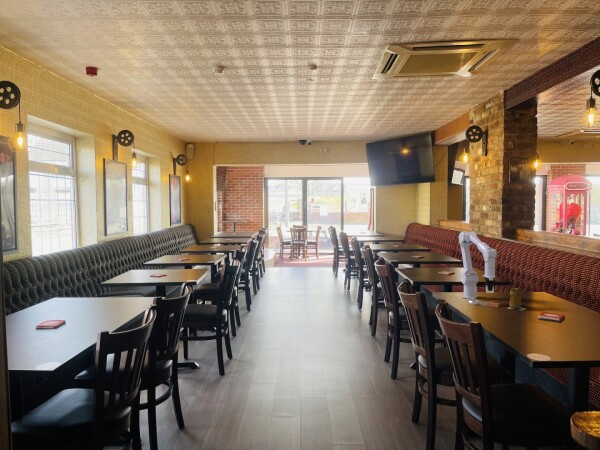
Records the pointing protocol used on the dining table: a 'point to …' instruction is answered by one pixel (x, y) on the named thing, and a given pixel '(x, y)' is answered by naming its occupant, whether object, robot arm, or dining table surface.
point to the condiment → (515, 299)
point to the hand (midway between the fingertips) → (489, 290)
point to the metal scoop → (482, 303)
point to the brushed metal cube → (489, 291)
